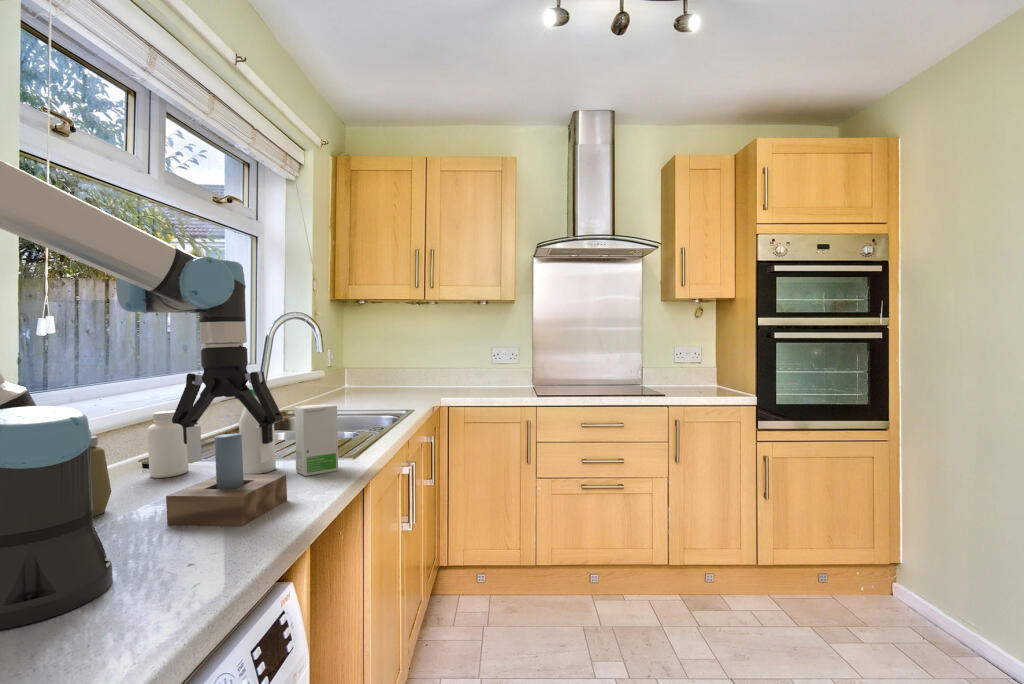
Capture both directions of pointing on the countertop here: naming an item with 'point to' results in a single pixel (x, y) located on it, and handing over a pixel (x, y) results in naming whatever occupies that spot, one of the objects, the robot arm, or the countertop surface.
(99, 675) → the countertop surface
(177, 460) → the pill bottle
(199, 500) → the socket block
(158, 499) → the countertop surface
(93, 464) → the squeeze bottle
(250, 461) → the milk bottle
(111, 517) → the countertop surface
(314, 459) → the skincare box
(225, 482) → the peg
